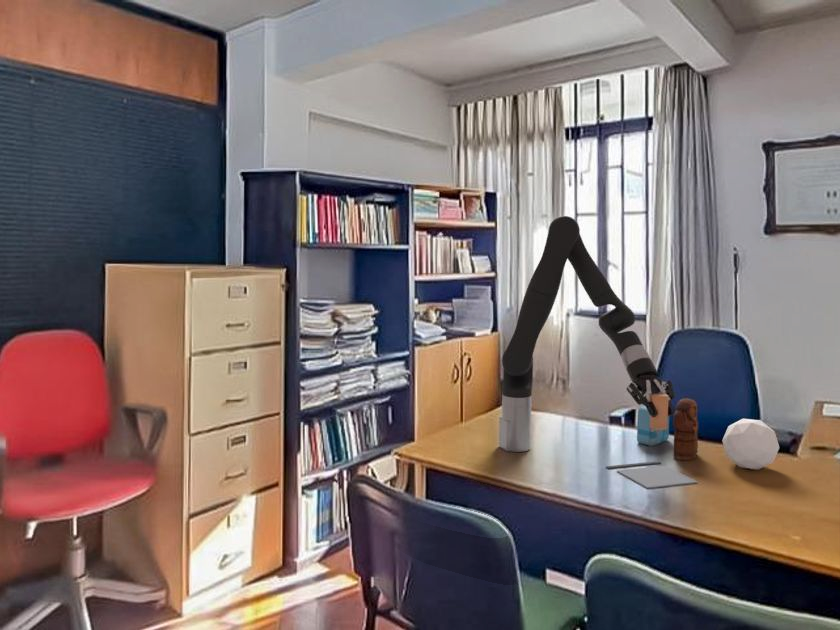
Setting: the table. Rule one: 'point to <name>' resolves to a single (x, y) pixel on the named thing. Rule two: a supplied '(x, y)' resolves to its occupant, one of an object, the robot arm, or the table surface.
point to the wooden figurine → (685, 430)
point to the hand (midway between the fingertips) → (663, 414)
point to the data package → (649, 429)
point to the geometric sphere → (750, 444)
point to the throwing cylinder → (660, 412)
